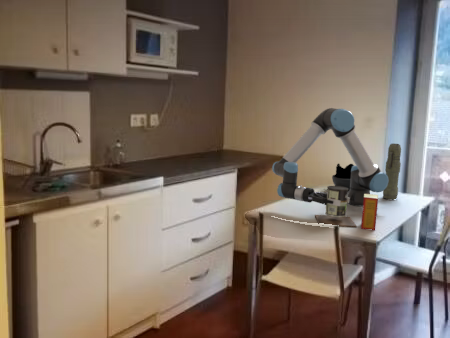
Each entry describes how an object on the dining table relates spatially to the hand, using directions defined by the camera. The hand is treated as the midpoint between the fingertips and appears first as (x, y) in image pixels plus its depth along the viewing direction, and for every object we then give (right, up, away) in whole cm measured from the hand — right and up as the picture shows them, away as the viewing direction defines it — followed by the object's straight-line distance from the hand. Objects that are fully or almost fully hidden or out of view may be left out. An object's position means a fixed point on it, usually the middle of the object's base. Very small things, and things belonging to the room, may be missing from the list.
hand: (344, 201), depth 240 cm
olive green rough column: (+46, -3, +68) cm, 82 cm away
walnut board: (-4, -10, +4) cm, 12 cm away
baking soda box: (+11, -12, -3) cm, 17 cm away
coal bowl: (+22, +1, +83) cm, 86 cm away
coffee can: (-4, -7, +4) cm, 9 cm away
